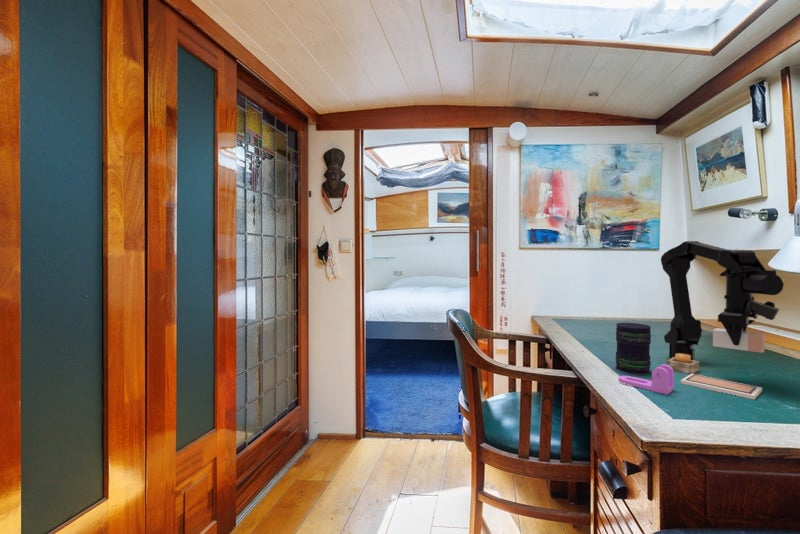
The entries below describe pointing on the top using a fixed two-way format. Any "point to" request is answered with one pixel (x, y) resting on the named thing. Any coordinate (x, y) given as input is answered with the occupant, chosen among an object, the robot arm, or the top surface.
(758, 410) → the top surface
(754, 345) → the two-tone rectangular block
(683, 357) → the button
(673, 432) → the top surface
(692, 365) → the button block
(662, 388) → the bracket
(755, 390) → the picture board
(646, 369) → the storage jar
